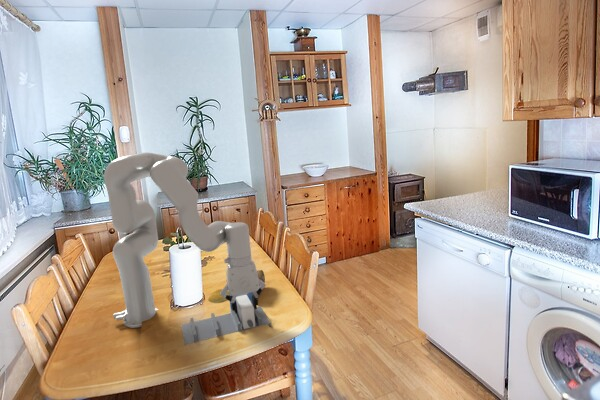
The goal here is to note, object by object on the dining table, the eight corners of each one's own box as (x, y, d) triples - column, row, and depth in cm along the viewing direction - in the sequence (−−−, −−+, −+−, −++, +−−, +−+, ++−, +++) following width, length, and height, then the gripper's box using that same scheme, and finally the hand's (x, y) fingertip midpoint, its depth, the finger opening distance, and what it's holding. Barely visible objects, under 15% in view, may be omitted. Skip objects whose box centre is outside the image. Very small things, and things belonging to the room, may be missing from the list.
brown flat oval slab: (255, 303, 149) (253, 282, 147) (247, 302, 150) (245, 282, 148) (266, 285, 164) (264, 266, 162) (258, 285, 164) (257, 266, 162)
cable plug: (246, 334, 126) (244, 314, 124) (237, 315, 138) (235, 296, 137) (258, 331, 127) (256, 311, 125) (248, 312, 139) (246, 294, 138)
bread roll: (205, 306, 149) (204, 297, 149) (214, 295, 158) (213, 286, 157) (226, 307, 148) (225, 297, 147) (234, 296, 157) (232, 286, 156)
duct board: (185, 348, 123) (181, 324, 121) (182, 328, 135) (178, 305, 133) (270, 327, 132) (268, 304, 130) (261, 309, 144) (259, 288, 142)
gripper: (215, 269, 123) (221, 320, 127) (268, 258, 129) (272, 308, 133) (212, 261, 130) (218, 310, 134) (262, 251, 135) (266, 299, 140)
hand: (245, 309), depth 133 cm, fingers open, 6 cm apart
